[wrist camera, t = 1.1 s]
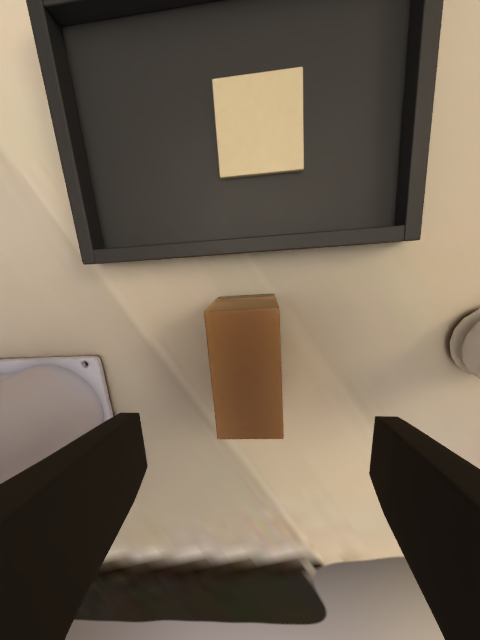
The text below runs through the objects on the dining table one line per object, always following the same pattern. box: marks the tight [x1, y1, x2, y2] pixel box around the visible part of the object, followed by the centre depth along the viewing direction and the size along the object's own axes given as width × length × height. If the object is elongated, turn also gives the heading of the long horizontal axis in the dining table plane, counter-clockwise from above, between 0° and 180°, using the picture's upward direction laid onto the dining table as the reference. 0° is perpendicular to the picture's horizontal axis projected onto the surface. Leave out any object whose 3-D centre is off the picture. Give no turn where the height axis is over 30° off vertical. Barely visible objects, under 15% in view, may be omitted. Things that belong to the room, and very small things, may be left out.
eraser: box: [204, 294, 284, 439], centre depth 15 cm, size 4×7×4 cm, turn 4°
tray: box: [26, 0, 443, 264], centre depth 13 cm, size 19×13×2 cm
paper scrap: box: [212, 67, 304, 179], centre depth 13 cm, size 4×4×1 cm
